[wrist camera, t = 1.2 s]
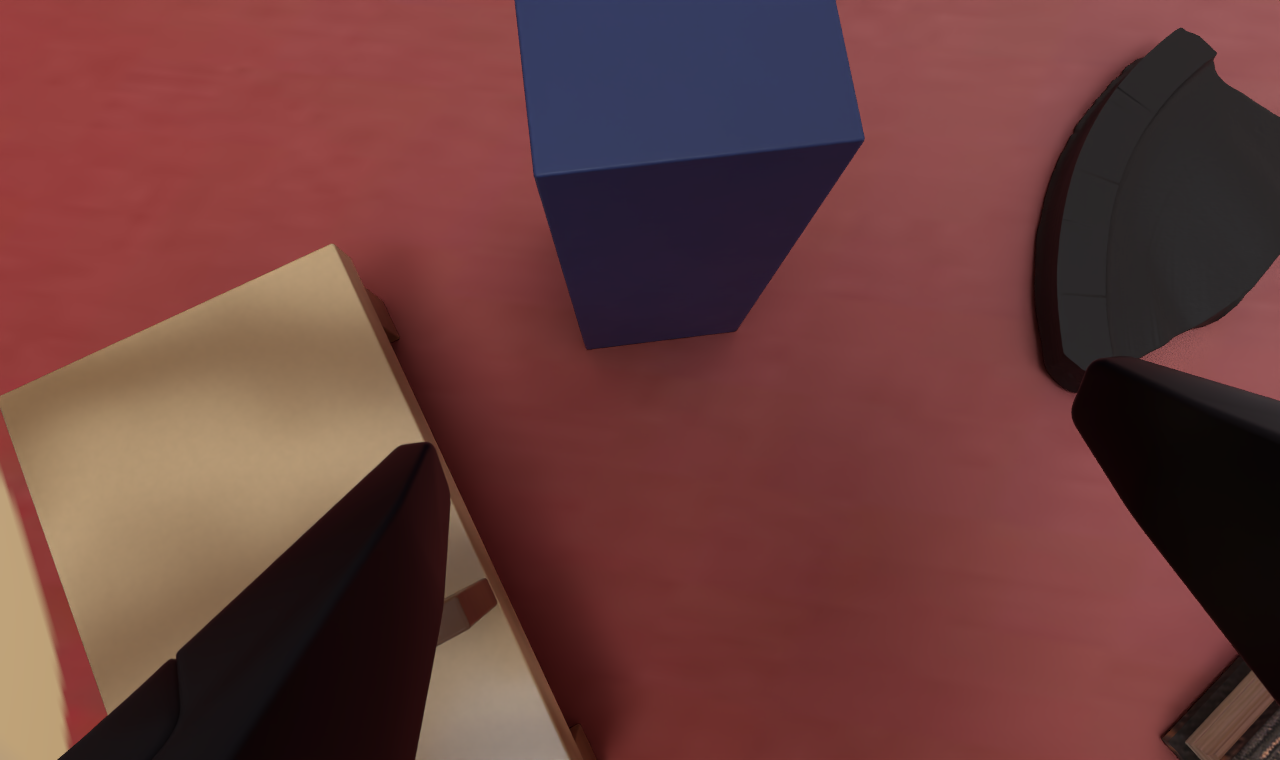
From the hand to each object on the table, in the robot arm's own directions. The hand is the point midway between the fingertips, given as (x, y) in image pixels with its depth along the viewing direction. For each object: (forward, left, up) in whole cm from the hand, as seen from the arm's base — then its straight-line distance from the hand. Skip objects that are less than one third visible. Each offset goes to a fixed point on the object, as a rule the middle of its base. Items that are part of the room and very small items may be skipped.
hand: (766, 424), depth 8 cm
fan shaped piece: (0, -20, -14) cm, 24 cm away
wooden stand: (+1, +11, -13) cm, 18 cm away
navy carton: (+7, -2, -13) cm, 15 cm away
